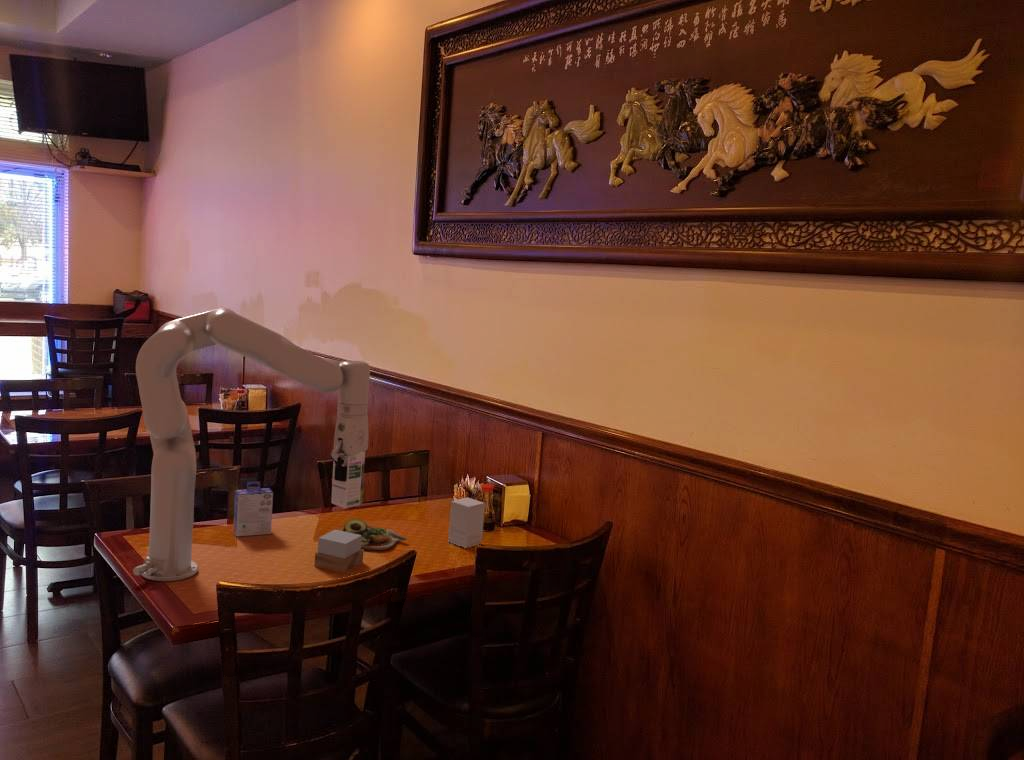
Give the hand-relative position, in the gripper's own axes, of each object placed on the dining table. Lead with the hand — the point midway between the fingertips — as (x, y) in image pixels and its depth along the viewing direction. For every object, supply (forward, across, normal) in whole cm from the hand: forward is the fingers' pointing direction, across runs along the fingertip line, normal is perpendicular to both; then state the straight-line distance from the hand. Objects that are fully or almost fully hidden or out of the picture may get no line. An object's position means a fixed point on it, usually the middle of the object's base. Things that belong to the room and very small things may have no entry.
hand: (348, 476), depth 203 cm
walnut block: (+24, -1, +1) cm, 24 cm away
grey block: (+20, -1, +1) cm, 20 cm away
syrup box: (+7, 0, 0) cm, 7 cm away
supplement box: (+24, +34, -21) cm, 46 cm away
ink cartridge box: (+23, +7, +33) cm, 41 cm away
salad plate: (+24, +20, +4) cm, 31 cm away
